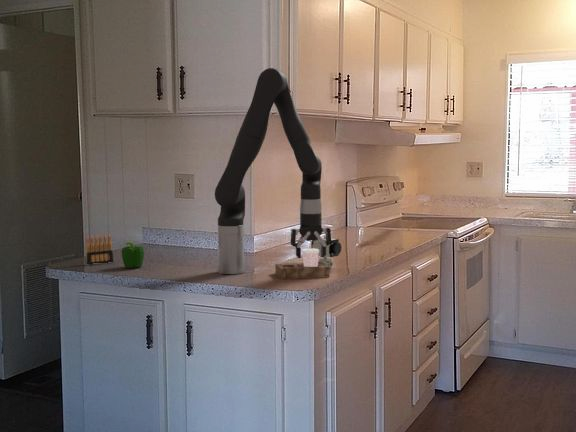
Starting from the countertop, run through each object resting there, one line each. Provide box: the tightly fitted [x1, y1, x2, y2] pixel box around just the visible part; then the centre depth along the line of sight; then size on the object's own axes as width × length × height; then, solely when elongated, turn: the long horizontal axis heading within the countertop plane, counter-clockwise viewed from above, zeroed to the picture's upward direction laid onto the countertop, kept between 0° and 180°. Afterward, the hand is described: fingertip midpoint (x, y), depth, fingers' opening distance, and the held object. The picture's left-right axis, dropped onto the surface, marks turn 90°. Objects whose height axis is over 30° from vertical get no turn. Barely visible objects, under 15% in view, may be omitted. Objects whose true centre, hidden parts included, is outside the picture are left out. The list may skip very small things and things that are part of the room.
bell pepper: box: [121, 241, 145, 269], centre depth 266 cm, size 8×8×10 cm
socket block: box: [274, 262, 330, 280], centre depth 247 cm, size 17×11×4 cm, turn 102°
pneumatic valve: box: [309, 235, 342, 269], centre depth 261 cm, size 6×12×12 cm, turn 51°
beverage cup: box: [301, 240, 319, 267], centre depth 247 cm, size 6×6×14 cm
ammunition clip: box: [85, 232, 114, 264], centre depth 275 cm, size 11×2×12 cm, turn 125°
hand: (311, 257), depth 247 cm, fingers open, 8 cm apart
